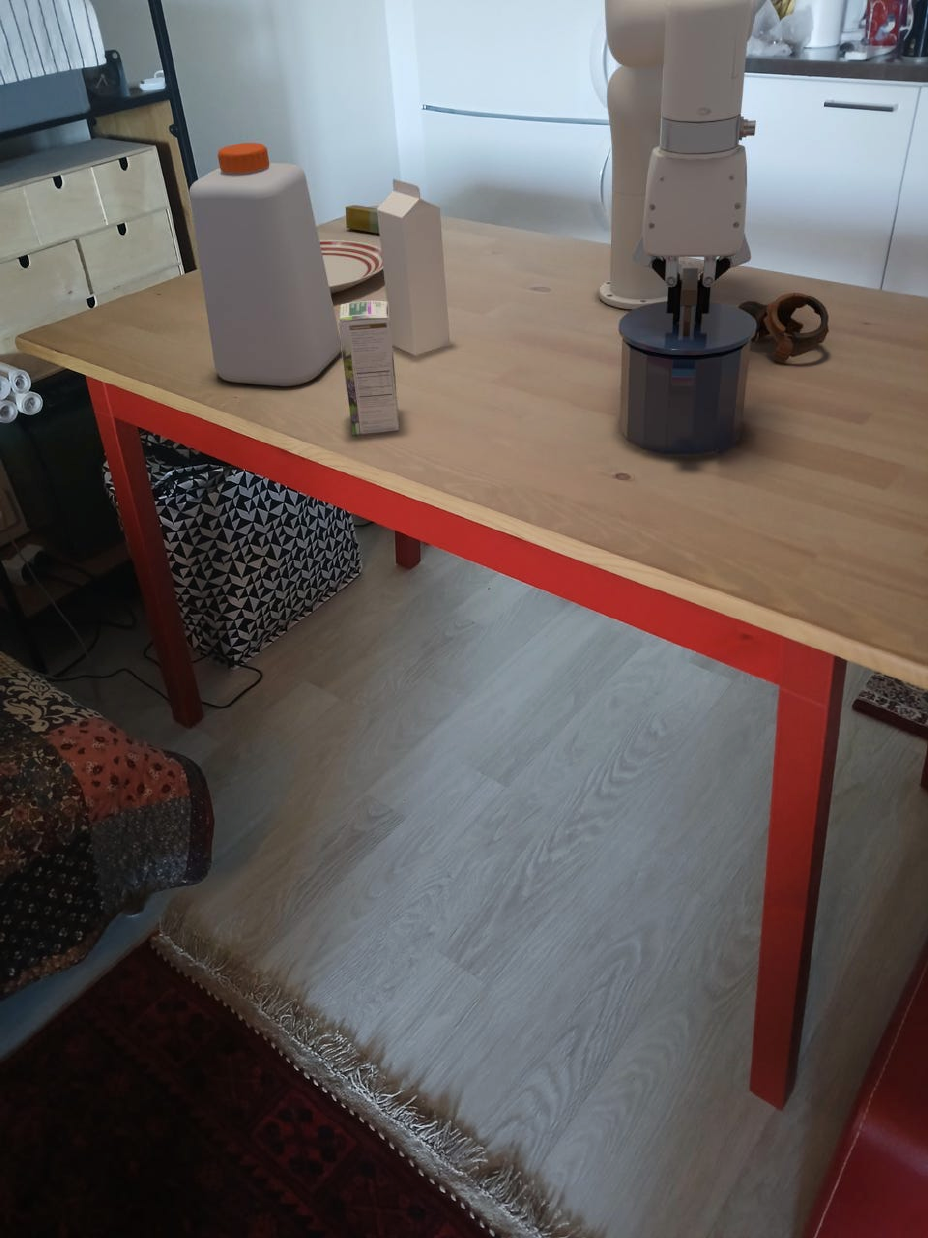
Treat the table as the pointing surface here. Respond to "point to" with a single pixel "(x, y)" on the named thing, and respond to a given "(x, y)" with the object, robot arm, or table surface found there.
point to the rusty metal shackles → (787, 324)
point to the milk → (413, 270)
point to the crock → (682, 399)
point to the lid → (687, 325)
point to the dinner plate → (349, 262)
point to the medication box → (362, 218)
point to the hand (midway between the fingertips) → (687, 318)
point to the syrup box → (369, 366)
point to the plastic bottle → (262, 270)
